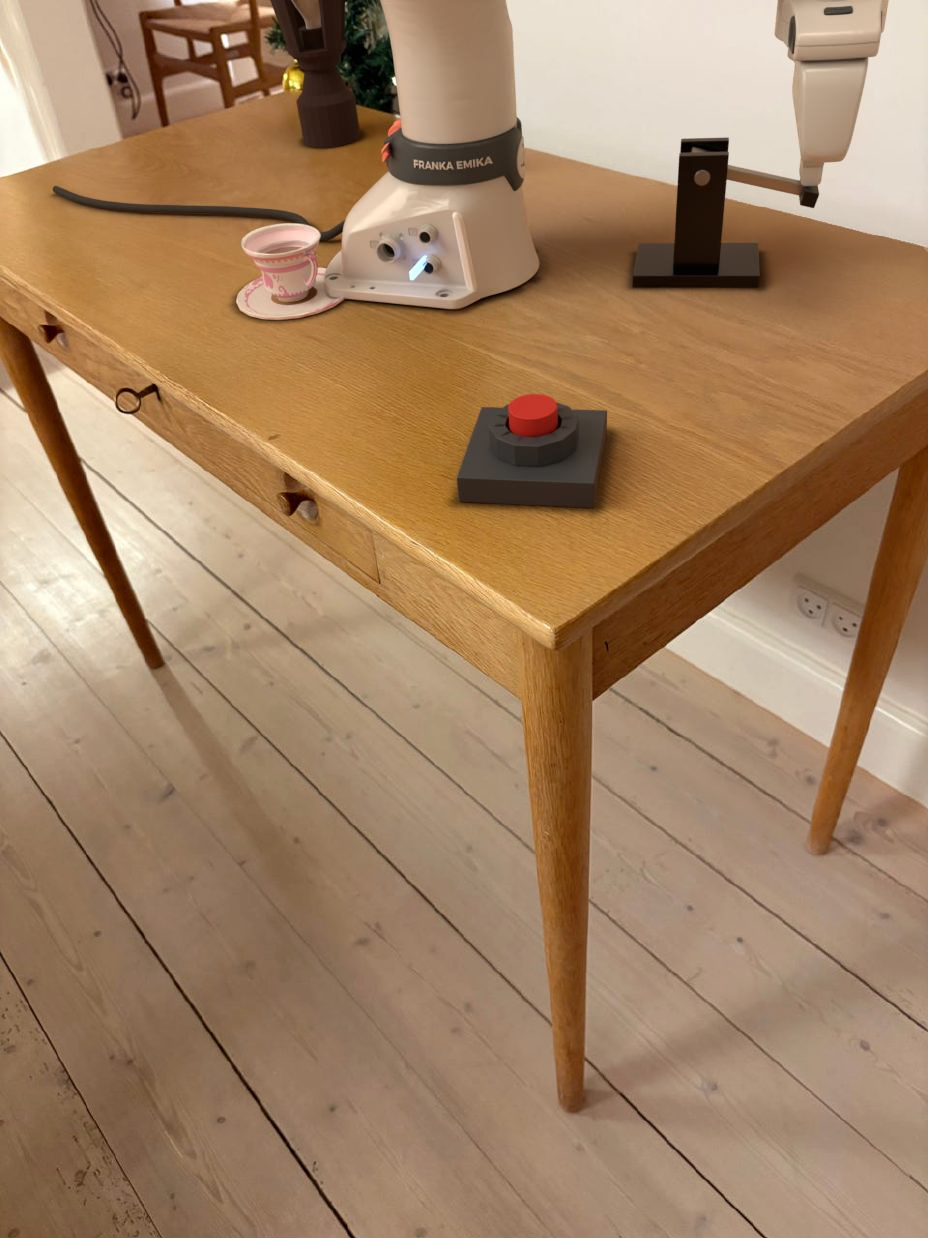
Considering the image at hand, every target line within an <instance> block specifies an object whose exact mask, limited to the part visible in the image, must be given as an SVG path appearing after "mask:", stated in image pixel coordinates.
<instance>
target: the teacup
mask: <svg viewBox="0 0 928 1238" xmlns="http://www.w3.org/2000/svg"><path fill="white" fill-rule="evenodd" d="M320 232H321V231H319V230H318V229H317V228H316V227H314V226H311V225H310V226H308V225H304V224H297V223H296V222H293V223H292V222H289V223H285V222H284V223H275V224H269V225H265V226H261V227H259V228H256V229H254V230H252V231H249V232H248V233H246V234H245V235H244V236H243V237H242V239H241V241H240V246H241V247H242V249H243V252H244V254H245V255H246V256H247V257H248V258H250V260H253V263H254V265H255V266H256V267H257V269H258V270H259V271H260V274H261V276H260V277H257V278H256V279H254V280H253V281H251V282H249V283H247V284H246V285H245V286H243V288H241V290H240V291H239V292H238V293H237V297H236V300H235V302H236V305H237V307H238V309H239V311H240V312H242V313H244V314H245V315H247V316H248V317H252V318H256V319H260V320H271V321H287V320H294V319H302V318H305V317H309V316H310V317H311V316H313V315H317V314H320V313H323V312H325V311H328V310H330V309H332V308H334V307H336V306H337V305H338V304H340V303H342V302H343V301H345V300H346V298H344V297H343V296H342V297H339V298H336V297H331V296H329V295H328V294H327V292H326V290H325V285H324V275H325V271H326V269H327V267H320V266H319V265H318V261H317V256H316V253H317V252H316V251H315V250H316V249H317V247H318V246H319V244H320V242H321V241H320V237H321V234H320ZM312 288H314V289H315V290H316V294H315V296H314V297H312V298H311V299H309V300H307V301H304V302H300V303H296V304H295V302H298V301H301V300H304V299H306V297H307V296H308V295H309V292H310V289H312ZM273 296H274V297H275V298H276V299H277V301H279V302H281V303H294V304H281V303H280V304H279V303H276V302H275V301H273V299H272V297H273Z"/></svg>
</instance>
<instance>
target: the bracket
mask: <svg viewBox="0 0 928 1238" xmlns="http://www.w3.org/2000/svg"><path fill="white" fill-rule="evenodd" d="M729 146H730V137H696V138H695V137H692V138H691V137H690V138H681V139H680V150H679V153H678V154H679V155H678V169H677V187H676V205H675V222H674V223H675V225H674V226H675V227H674V241H673V242H650V243H649V242H639V243H638V244H637V249H636V255H635V261H634V266H633V271H632V283H631V285H632V288H708V289H709V288H712V289H713V288H720V289H721V288H725V289H728V288H731V289H732V288H733V289H734V288H735V289H736V288H739V289H740V288H744V289H745V288H746V289H747V288H750V289H752V288H753V289H755V288H756V289H757V288H759V286H760V285H759V284H760V275H761V273H760V251H759V250H760V247H759V242H722V237H723V228H724V227H723V226H724V215H725V204H726V203H725V202H726V194H727V193H726V192H727V191H726V190H727V181H728V180H727V170H728V165H729V158H730V157H729V156H730V152H729V148H730V147H729ZM692 147H696V148H701V149H705V150H710V151H714V152H692V153H691V150H692Z"/></svg>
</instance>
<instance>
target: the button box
mask: <svg viewBox="0 0 928 1238" xmlns="http://www.w3.org/2000/svg"><path fill="white" fill-rule="evenodd" d="M556 403H557V410H558V427H557V429H556V430H555V431H554V432H553V433H551V434H547V435H544V436H540V437H521V436H519V435H516V434H513V433H512V432H511V431H510V428H509V412H508V407H509V404H506V405H504V406H503V407H499V406H498V407H497V406H496V407H494V406H493V407H492V406H487V407H486V406H482V407H481V408H480V410H479V414H478V416H477V419H476V422H475V424H474V427H473V431H472V433H471V436H470V438H469V443H468V445H467V448H466V450H465V452H464V455H463V459H462V462H461V465H460V467H459V470H458V473H457V476H456V485H457V493H458V501H459V503H479V504H496V505H497V504H501V505H522V506H539V507H541V506H543V507H563V508H564V507H565V508H583V509H584V508H585V509H587V508H588V509H594V508H595V505H596V499H597V494H598V488H599V482H600V476H601V471H602V465H603V458H604V452H605V447H606V441H607V436H608V410H606V409H605V410H602V409H600V410H599V409H574V408H573V409H572V408H571V407H570V406H569V405H566V404H563V403H560V402H558V401H556Z"/></svg>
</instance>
